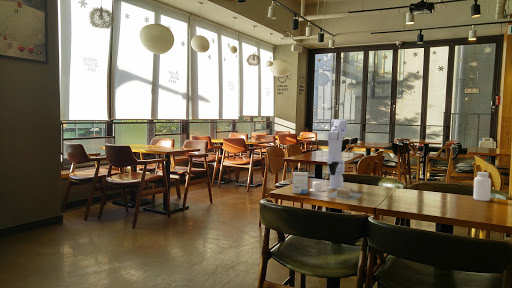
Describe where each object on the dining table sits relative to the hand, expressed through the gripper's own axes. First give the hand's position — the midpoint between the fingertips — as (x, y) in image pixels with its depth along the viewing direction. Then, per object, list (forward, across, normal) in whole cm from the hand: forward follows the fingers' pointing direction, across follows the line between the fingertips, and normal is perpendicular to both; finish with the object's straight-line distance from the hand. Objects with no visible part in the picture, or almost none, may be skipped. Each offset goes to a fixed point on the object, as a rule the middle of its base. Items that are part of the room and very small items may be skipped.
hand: (332, 175), depth 224 cm
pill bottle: (+11, -29, +75) cm, 81 cm away
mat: (+10, +5, +9) cm, 15 cm away
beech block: (+8, +3, +9) cm, 12 cm away
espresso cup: (+10, -2, -10) cm, 15 cm away
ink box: (+11, +10, -16) cm, 22 cm away
